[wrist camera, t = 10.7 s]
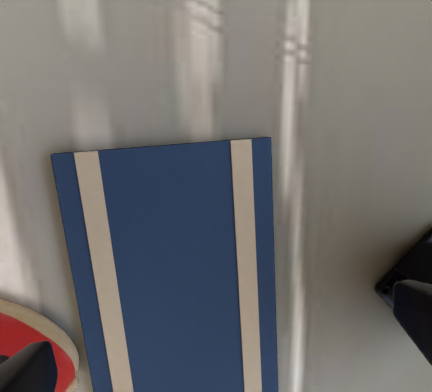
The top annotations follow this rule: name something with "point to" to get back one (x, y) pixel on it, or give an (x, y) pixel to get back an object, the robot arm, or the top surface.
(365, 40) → the top surface
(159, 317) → the towel
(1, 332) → the ladybug figurine
